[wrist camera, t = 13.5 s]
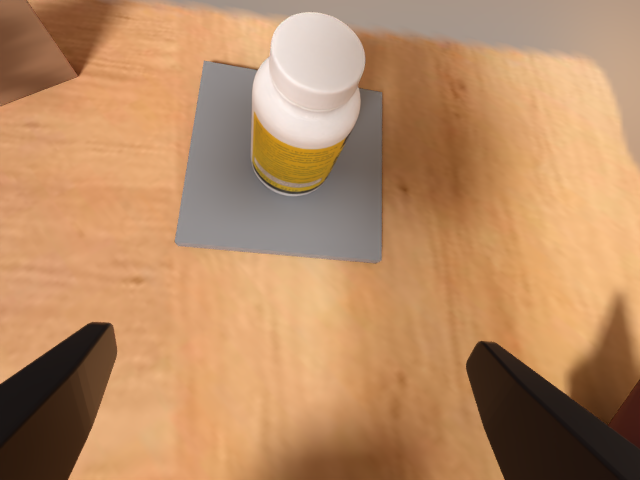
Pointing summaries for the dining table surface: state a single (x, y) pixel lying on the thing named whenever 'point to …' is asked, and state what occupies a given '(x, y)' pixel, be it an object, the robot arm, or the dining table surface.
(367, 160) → the grey mat
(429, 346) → the dining table surface
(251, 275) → the dining table surface
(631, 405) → the icecream
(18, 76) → the walnut screen
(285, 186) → the supplement bottle
